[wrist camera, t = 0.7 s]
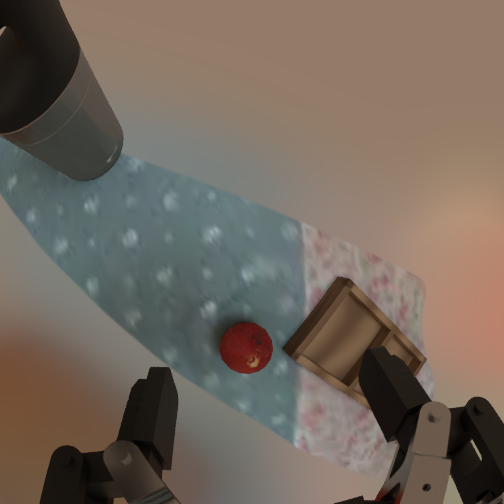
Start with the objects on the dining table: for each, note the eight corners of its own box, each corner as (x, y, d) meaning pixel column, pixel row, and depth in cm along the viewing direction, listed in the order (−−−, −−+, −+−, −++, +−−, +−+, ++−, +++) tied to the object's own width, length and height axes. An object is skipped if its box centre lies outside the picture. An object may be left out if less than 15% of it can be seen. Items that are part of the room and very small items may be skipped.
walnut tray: (282, 348, 35) (290, 356, 32) (338, 276, 36) (350, 278, 33) (375, 409, 39) (384, 417, 36) (415, 354, 41) (427, 359, 38)
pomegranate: (233, 306, 33) (246, 325, 26) (271, 328, 35) (294, 351, 27) (208, 345, 33) (214, 374, 25) (247, 365, 34) (263, 396, 26)
